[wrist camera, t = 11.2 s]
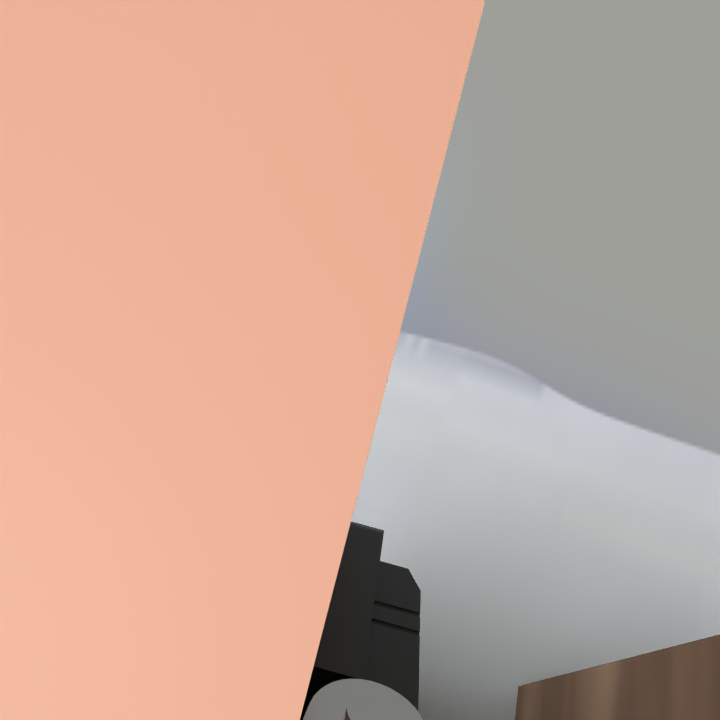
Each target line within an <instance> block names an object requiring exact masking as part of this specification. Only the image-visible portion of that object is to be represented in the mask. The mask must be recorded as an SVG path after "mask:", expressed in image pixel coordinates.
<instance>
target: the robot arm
mask: <svg viewBox="0 0 720 720" xmlns="http://www.w3.org/2000/svg"><path fill="white" fill-rule="evenodd" d="M383 533H384V530H380V529H377V528H373V527H369V526H366V525H362V524H358V523H355V522H351V523H350V527H349V531H348V535H347V538H346V542H345V546H344V550H343V554H342V558H341V562H340V566H339V570H338V573H337V577H336V581H335V585H334V589H333V593H332V597H331V601H330V604H329V608H328V612H327V616H326V620H325V624H324V628H323V632H322V635H321V639H320V643H319V647H318V651H317V655H316V659H315V663H314V667H313V670H312V674H311V678H310V682H309V686H308V690H307V694H306V698H305V701H304V705H303V709H302V713H301V717H300V720H423V718H422V716H421V715H420V713H419V712H418V690H419V641H420V636H419V632H420V617H419V615H420V589H419V587H418V586H417V584H416V582H415V580H414V578H413V577H412V575H411V573H410V571H409V569H407V568H403V567H399V566H396V565H392V564H388V563H385V562H381V561H380V555H381V548H382V541H383Z"/></svg>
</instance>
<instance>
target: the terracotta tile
mask: <svg viewBox="0 0 720 720" xmlns="http://www.w3.org/2000/svg"><path fill="white" fill-rule="evenodd" d="M484 3H485V0H0V720H300V717H301V713H302V709H303V705H304V701H305V698H306V694H307V690H308V686H309V682H310V678H311V674H312V670H313V667H314V663H315V659H316V655H317V651H318V647H319V643H320V639H321V635H322V632H323V628H324V624H325V620H326V616H327V612H328V608H329V604H330V601H331V597H332V593H333V589H334V585H335V581H336V577H337V573H338V570H339V566H340V562H341V558H342V554H343V550H344V546H345V542H346V538H347V535H348V531H349V527H350V523H351V519H352V515H353V511H354V507H355V504H356V500H357V496H358V492H359V488H360V484H361V480H362V476H363V473H364V469H365V465H366V461H367V457H368V453H369V449H370V445H371V441H372V438H373V434H374V430H375V426H376V422H377V418H378V414H379V410H380V407H381V403H382V399H383V395H384V391H385V387H386V383H387V379H388V376H389V372H390V368H391V364H392V360H393V356H394V352H395V348H396V344H397V341H398V337H399V333H400V329H401V325H402V321H403V317H404V313H405V309H406V306H407V302H408V298H409V294H410V290H411V286H412V282H413V278H414V275H415V271H416V267H417V262H418V259H419V255H420V251H421V247H422V244H423V239H424V236H425V232H426V228H427V224H428V220H429V216H430V212H431V208H432V205H433V201H434V197H435V193H436V189H437V185H438V182H439V178H440V174H441V170H442V166H443V162H444V158H445V154H446V150H447V147H448V143H449V138H450V135H451V131H452V127H453V123H454V119H455V115H456V111H457V108H458V104H459V100H460V96H461V92H462V88H463V85H464V80H465V76H466V73H467V69H468V65H469V61H470V57H471V53H472V50H473V46H474V41H475V38H476V34H477V30H478V26H479V22H480V18H481V14H482V11H483V7H484Z"/></svg>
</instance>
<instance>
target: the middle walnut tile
mask: <svg viewBox="0 0 720 720" xmlns="http://www.w3.org/2000/svg"><path fill="white" fill-rule="evenodd" d="M515 720H720V635H716V636H712V637H708V638H705V639H701V640H697V641H693V642H689V643H685V644H681V645H677V646H673V647H669V648H666V649H662V650H658V651H654V652H650V653H646V654H642V655H638V656H634V657H631V658H627V659H623V660H619V661H615V662H611V663H607V664H603V665H599V666H595V667H592V668H588V669H584V670H580V671H576V672H572V673H568V674H564V675H560V676H556V677H553V678H549V679H545V680H541V681H537V682H533V683H529V684H525V685H521V686H519V688H518V698H517V707H516V717H515Z"/></svg>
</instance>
